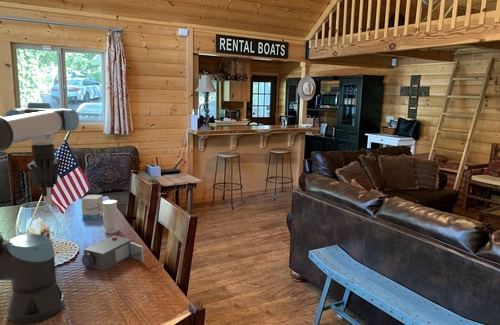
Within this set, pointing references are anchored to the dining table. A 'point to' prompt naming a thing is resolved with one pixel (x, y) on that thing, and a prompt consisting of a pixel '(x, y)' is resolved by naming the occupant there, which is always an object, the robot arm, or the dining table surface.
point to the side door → (136, 251)
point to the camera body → (106, 253)
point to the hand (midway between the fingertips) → (48, 203)
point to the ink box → (92, 206)
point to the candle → (110, 216)
